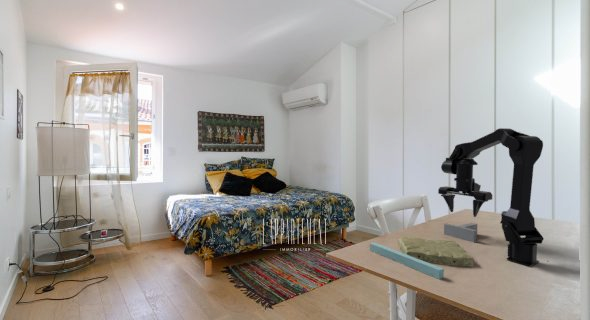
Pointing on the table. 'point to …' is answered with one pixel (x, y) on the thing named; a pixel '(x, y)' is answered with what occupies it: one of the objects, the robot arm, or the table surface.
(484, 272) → the table surface
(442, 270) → the bar
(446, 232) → the grey piece
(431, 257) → the decorative tile
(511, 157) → the robot arm
